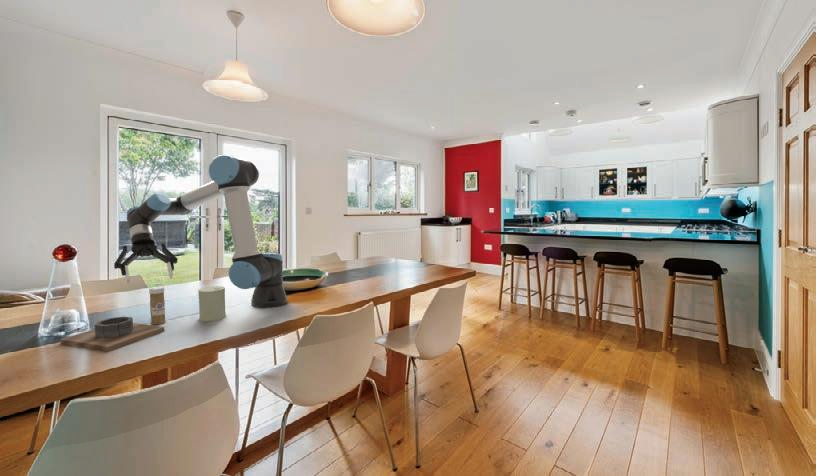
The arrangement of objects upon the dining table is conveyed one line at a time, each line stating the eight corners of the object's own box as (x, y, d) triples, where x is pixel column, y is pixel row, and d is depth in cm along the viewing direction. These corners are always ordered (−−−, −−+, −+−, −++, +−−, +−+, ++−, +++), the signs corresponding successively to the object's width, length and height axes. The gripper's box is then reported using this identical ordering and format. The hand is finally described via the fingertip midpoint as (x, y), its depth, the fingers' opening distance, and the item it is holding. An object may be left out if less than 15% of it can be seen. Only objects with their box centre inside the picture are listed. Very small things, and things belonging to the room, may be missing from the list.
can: (214, 322, 130) (213, 291, 129) (193, 320, 132) (192, 289, 131) (231, 314, 139) (230, 285, 138) (211, 313, 141) (210, 284, 140)
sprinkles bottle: (156, 325, 125) (154, 289, 124) (147, 323, 127) (146, 288, 126) (168, 321, 129) (167, 286, 128) (160, 320, 131) (159, 285, 130)
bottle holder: (164, 331, 120) (163, 315, 119) (107, 351, 103) (106, 333, 102) (121, 325, 125) (120, 310, 124) (60, 344, 108) (59, 326, 107)
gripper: (176, 241, 154) (186, 280, 144) (102, 245, 136) (108, 289, 127) (178, 230, 150) (189, 269, 140) (102, 233, 132) (108, 277, 123)
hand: (150, 278), depth 134 cm, fingers open, 13 cm apart
